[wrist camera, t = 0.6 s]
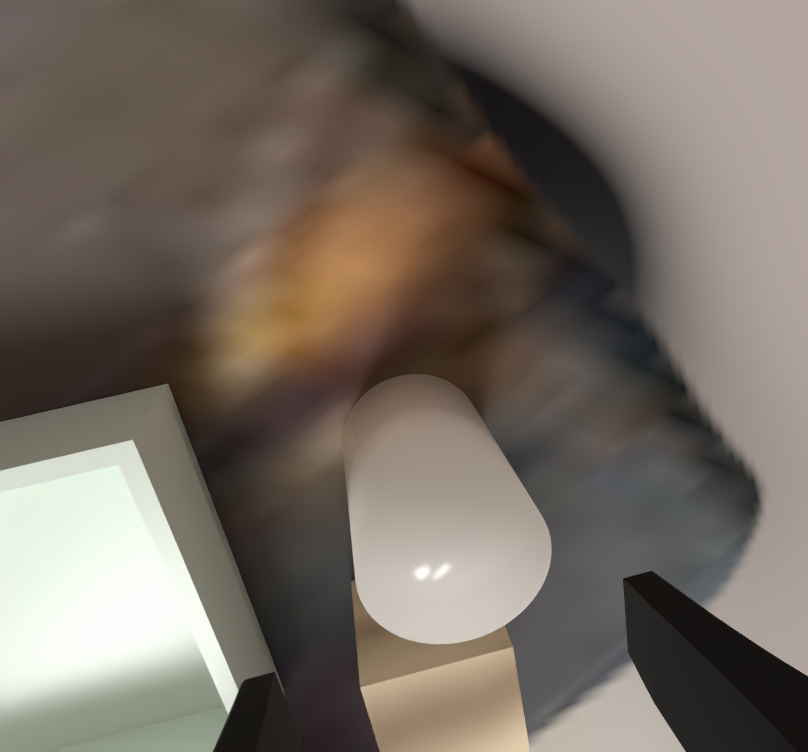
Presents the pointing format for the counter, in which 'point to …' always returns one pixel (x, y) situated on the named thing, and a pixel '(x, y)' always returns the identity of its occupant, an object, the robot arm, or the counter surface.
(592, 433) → the counter surface
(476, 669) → the oak cube
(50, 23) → the counter surface
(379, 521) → the white canister
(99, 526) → the tote
